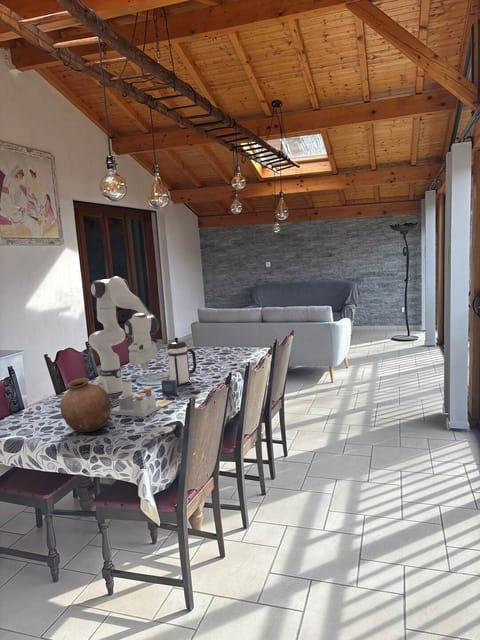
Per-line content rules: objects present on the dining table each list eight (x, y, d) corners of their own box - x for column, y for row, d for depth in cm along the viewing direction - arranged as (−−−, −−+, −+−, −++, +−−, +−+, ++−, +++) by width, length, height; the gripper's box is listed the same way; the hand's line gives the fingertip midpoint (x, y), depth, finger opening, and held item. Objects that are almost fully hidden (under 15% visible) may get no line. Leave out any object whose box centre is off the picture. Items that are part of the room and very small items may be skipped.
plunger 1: (134, 409, 246) (133, 396, 245) (139, 406, 249) (138, 394, 249) (141, 410, 244) (140, 397, 243) (146, 407, 248) (145, 394, 247)
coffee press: (189, 387, 292) (185, 339, 288) (165, 387, 296) (160, 340, 291) (197, 379, 309) (193, 334, 305) (174, 379, 312) (170, 335, 308)
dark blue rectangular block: (178, 393, 279) (176, 376, 278) (176, 395, 277) (174, 377, 275) (163, 393, 282) (161, 376, 280) (161, 395, 279) (159, 377, 277)
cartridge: (122, 408, 253) (119, 380, 251) (128, 405, 258) (125, 378, 256) (130, 408, 251) (127, 381, 249) (135, 405, 256) (132, 378, 254)
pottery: (117, 419, 242) (111, 371, 238) (106, 436, 219) (100, 384, 215) (72, 423, 241) (66, 375, 238) (56, 440, 218) (49, 388, 215)
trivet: (147, 406, 259) (147, 405, 259) (158, 400, 268) (158, 399, 268) (162, 407, 255) (162, 406, 255) (173, 401, 264) (172, 400, 264)
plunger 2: (143, 401, 252) (141, 389, 251) (148, 398, 256) (146, 386, 255) (149, 402, 250) (148, 389, 249) (154, 399, 254) (153, 387, 253)
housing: (110, 413, 252) (108, 399, 251) (127, 405, 264) (125, 391, 263) (144, 417, 242) (143, 401, 241) (160, 408, 255) (158, 393, 254)
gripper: (149, 340, 259) (152, 364, 261) (125, 348, 241) (128, 374, 243) (159, 340, 257) (161, 365, 259) (135, 348, 239) (138, 375, 240)
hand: (145, 369), depth 251 cm, fingers closed
